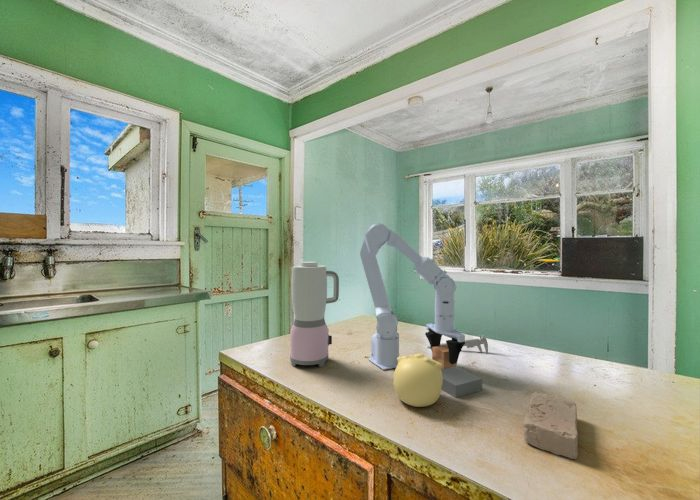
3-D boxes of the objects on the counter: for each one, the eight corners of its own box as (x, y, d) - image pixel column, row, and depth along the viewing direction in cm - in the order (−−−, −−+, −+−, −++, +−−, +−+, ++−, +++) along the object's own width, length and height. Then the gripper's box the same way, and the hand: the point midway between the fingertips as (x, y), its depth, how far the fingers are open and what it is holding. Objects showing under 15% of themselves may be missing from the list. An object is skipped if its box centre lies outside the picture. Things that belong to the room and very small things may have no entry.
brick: (531, 408, 72) (532, 388, 72) (576, 420, 67) (576, 398, 67) (522, 447, 59) (523, 422, 58) (578, 465, 54) (578, 438, 54)
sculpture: (445, 393, 79) (445, 351, 78) (438, 417, 68) (438, 368, 67) (400, 385, 83) (400, 345, 83) (387, 406, 72) (387, 360, 72)
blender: (287, 369, 93) (286, 263, 93) (292, 355, 106) (291, 261, 105) (339, 368, 94) (339, 263, 94) (338, 354, 107) (338, 260, 106)
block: (432, 366, 96) (432, 347, 96) (444, 363, 98) (444, 344, 98) (443, 372, 92) (443, 352, 91) (456, 369, 94) (456, 349, 94)
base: (431, 382, 84) (431, 371, 84) (456, 376, 88) (456, 366, 88) (455, 397, 76) (455, 385, 76) (482, 390, 80) (482, 378, 80)
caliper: (487, 353, 108) (487, 335, 108) (487, 354, 107) (488, 335, 107) (427, 348, 113) (427, 330, 113) (427, 349, 112) (427, 331, 112)
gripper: (472, 318, 90) (472, 365, 90) (438, 308, 103) (438, 349, 103) (454, 321, 87) (454, 369, 87) (421, 311, 100) (421, 353, 100)
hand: (444, 359), depth 95 cm, fingers open, 7 cm apart
